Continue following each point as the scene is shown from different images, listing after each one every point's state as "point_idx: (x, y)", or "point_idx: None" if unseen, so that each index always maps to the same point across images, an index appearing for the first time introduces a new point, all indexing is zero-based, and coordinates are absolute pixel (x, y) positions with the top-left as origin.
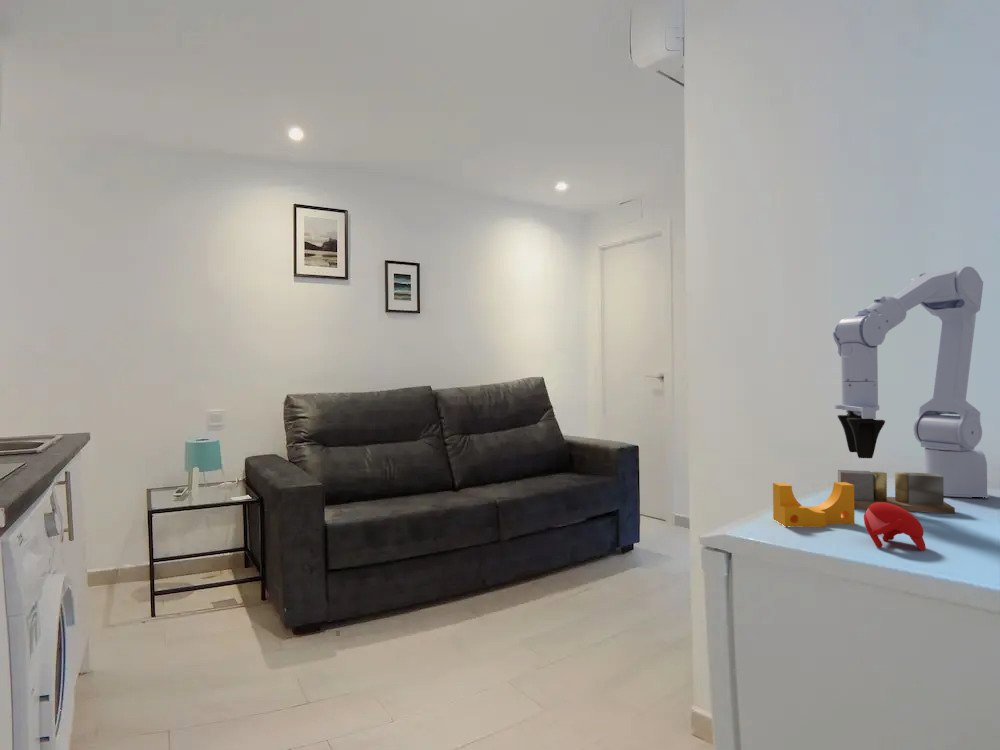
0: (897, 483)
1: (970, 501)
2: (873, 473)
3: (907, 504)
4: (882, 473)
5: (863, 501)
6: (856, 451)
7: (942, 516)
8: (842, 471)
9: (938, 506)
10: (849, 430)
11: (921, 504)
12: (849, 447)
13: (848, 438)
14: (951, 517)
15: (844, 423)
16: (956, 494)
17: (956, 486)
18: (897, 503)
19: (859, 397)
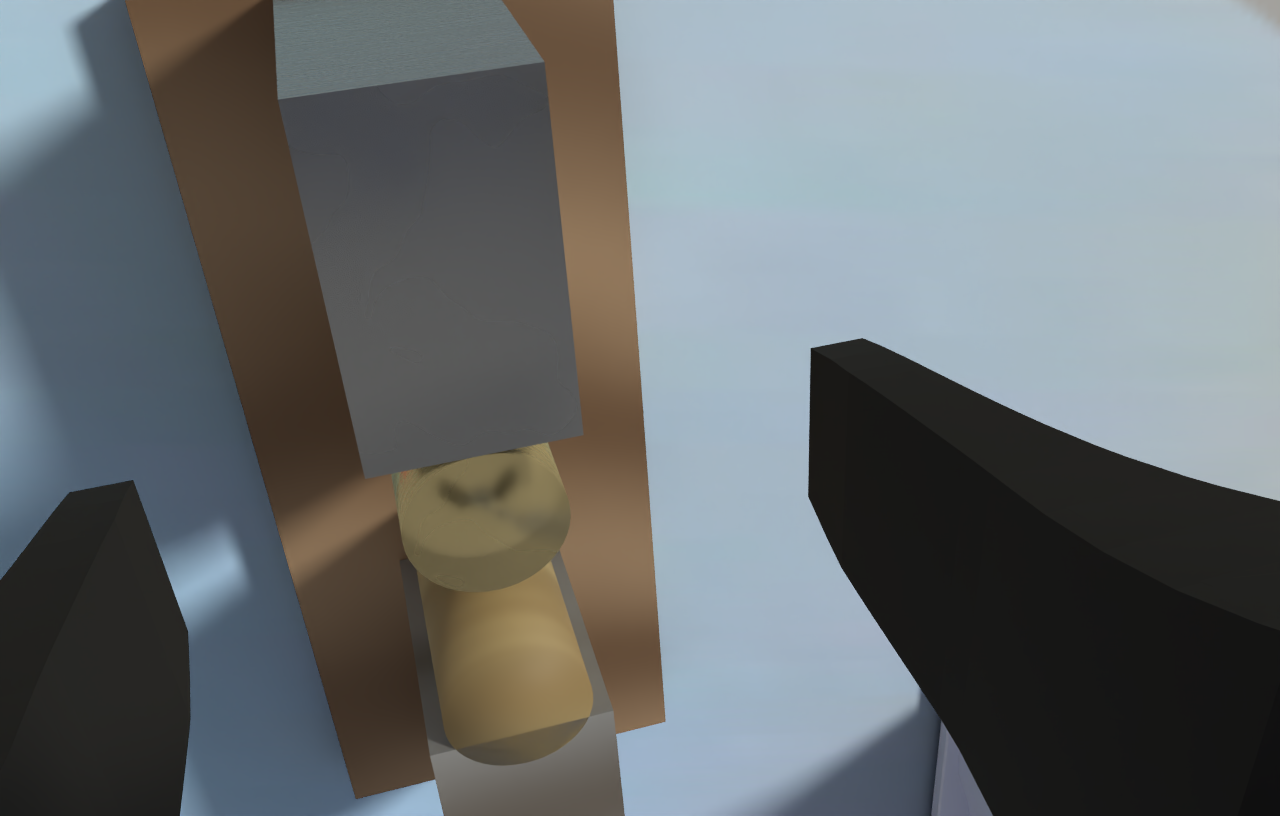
0: (456, 602)
1: (837, 807)
2: (428, 476)
3: (334, 552)
4: (442, 559)
5: (286, 222)
6: (817, 434)
7: (208, 711)
8: (411, 125)
9: (358, 723)
10: (1028, 580)
11: (387, 633)
12: (848, 377)
13: (933, 458)
14: (204, 753)
15: (1136, 614)
16: (950, 767)
17: (987, 811)
18: (343, 487)
19: None
